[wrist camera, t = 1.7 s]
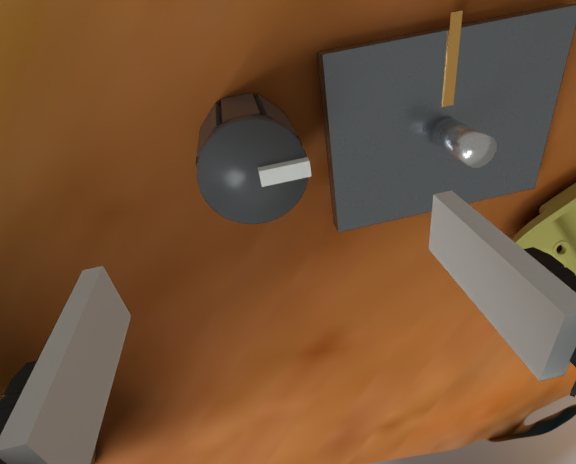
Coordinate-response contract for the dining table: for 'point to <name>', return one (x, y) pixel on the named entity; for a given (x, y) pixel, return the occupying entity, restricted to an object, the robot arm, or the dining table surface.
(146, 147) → the dining table surface
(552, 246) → the plastic component
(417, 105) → the hub plate
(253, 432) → the dining table surface
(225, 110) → the knob
